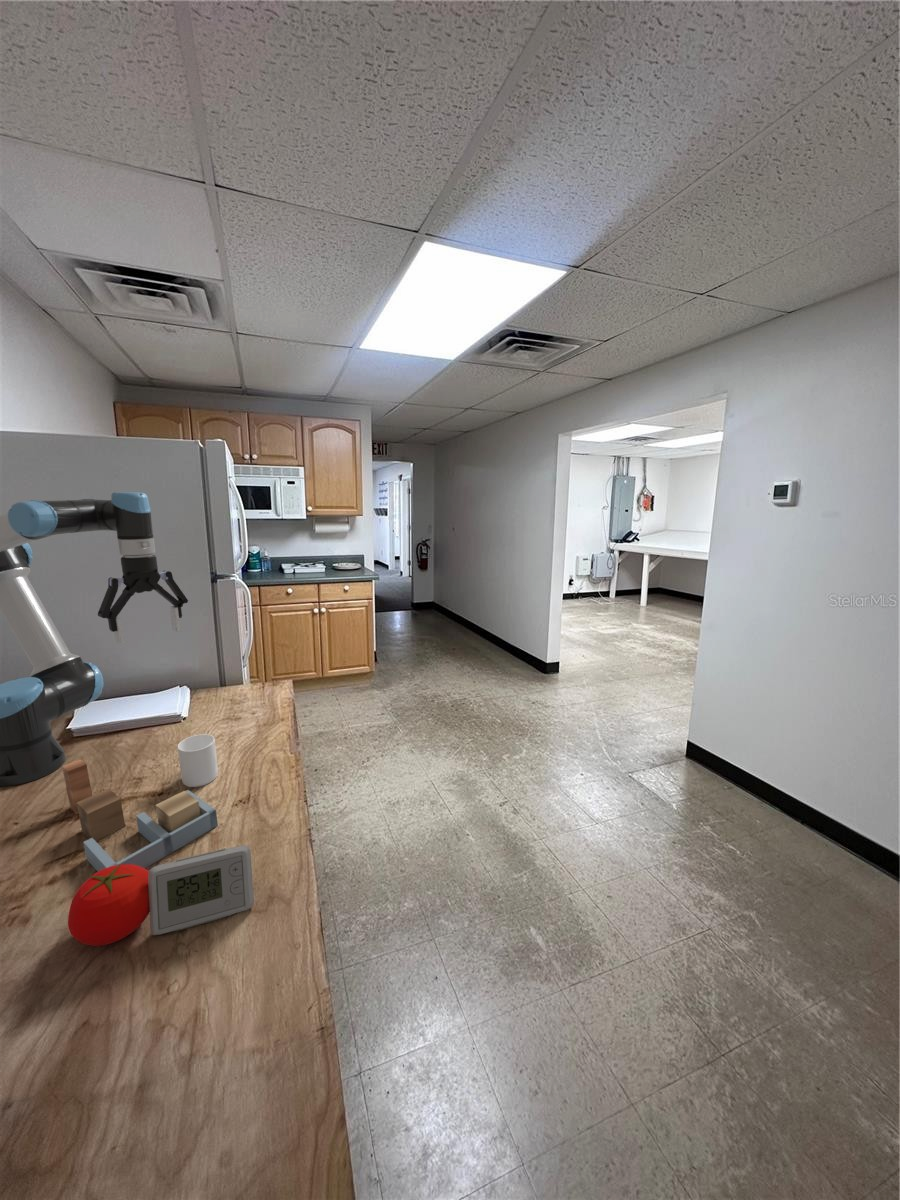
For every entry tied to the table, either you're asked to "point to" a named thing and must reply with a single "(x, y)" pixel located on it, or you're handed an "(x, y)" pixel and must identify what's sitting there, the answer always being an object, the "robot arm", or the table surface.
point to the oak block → (177, 811)
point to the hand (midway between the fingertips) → (149, 636)
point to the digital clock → (200, 889)
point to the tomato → (110, 905)
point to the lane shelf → (155, 839)
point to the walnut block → (92, 803)
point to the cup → (198, 760)
